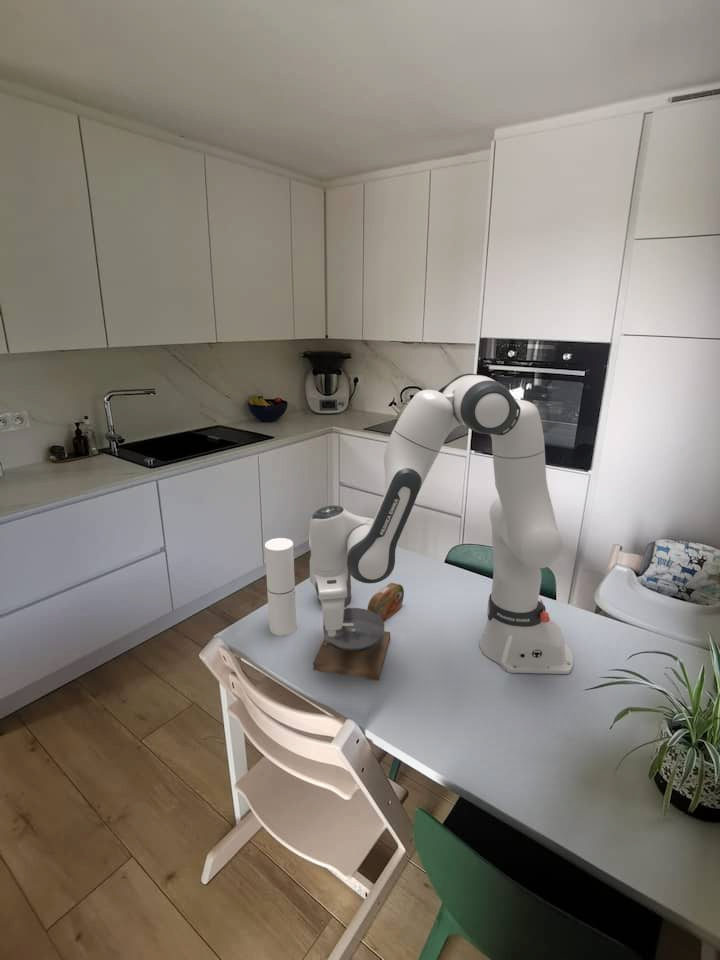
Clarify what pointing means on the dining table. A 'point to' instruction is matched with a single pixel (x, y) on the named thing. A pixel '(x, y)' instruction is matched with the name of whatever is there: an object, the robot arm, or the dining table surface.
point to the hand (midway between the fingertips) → (329, 623)
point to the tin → (387, 601)
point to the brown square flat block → (353, 660)
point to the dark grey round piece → (357, 631)
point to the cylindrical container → (280, 586)
